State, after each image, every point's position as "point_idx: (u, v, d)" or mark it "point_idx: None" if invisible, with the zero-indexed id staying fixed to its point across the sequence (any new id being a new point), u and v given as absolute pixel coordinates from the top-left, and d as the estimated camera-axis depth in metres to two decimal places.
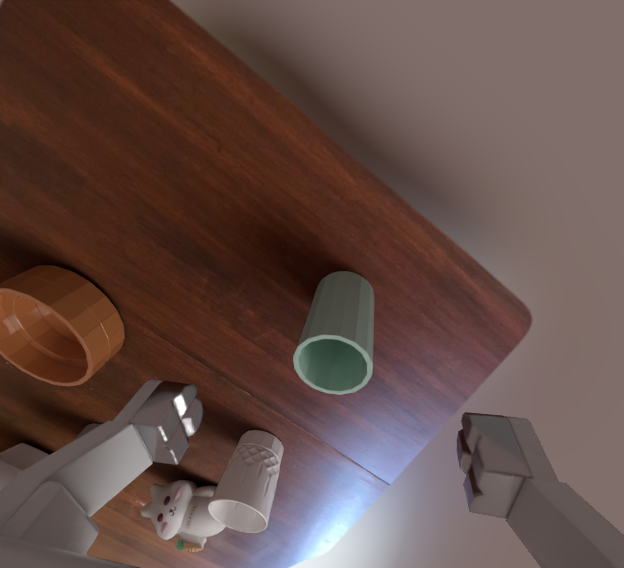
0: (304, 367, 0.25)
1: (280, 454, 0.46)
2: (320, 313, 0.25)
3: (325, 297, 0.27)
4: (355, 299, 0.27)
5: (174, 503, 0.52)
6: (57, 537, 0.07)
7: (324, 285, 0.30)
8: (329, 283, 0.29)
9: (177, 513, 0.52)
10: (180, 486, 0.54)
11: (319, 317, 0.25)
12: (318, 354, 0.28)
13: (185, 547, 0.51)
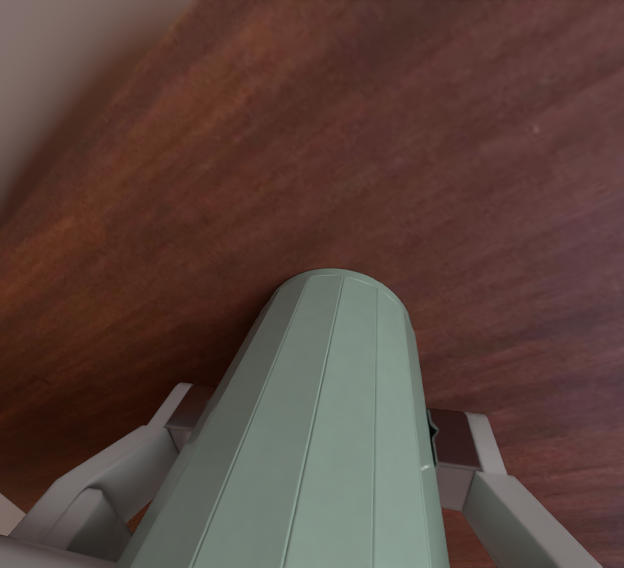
0: None
1: None
2: None
3: None
4: (232, 372, 0.08)
5: None
6: (98, 546, 0.07)
7: None
8: None
9: None
10: None
11: None
12: None
13: None
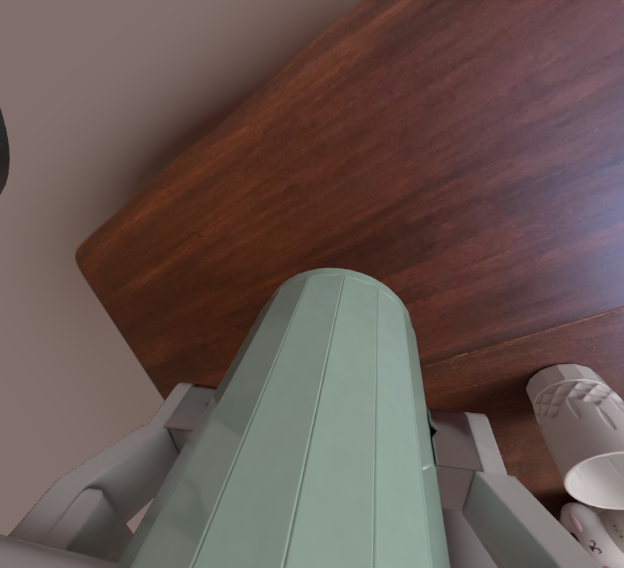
0: None
1: (589, 374, 0.30)
2: None
3: None
4: (232, 372, 0.08)
5: (585, 536, 0.37)
6: (98, 547, 0.07)
7: None
8: None
9: (603, 546, 0.36)
10: (569, 513, 0.39)
11: None
12: None
13: None
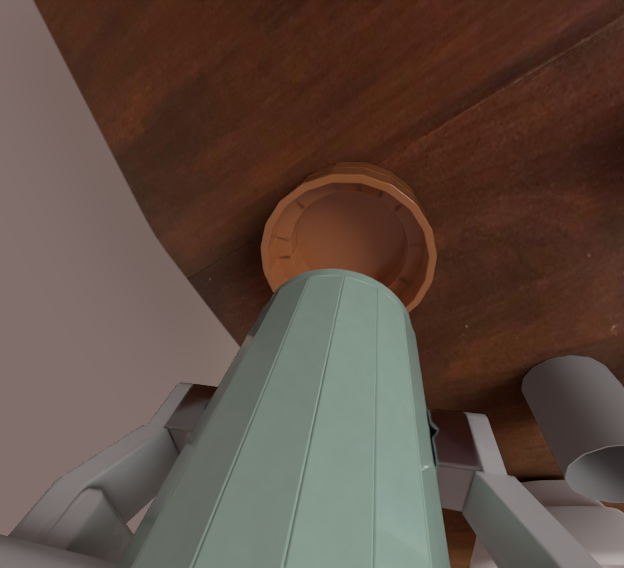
0: None
1: None
2: None
3: None
4: (232, 373, 0.08)
5: None
6: (98, 546, 0.07)
7: None
8: None
9: None
10: None
11: None
12: None
13: None
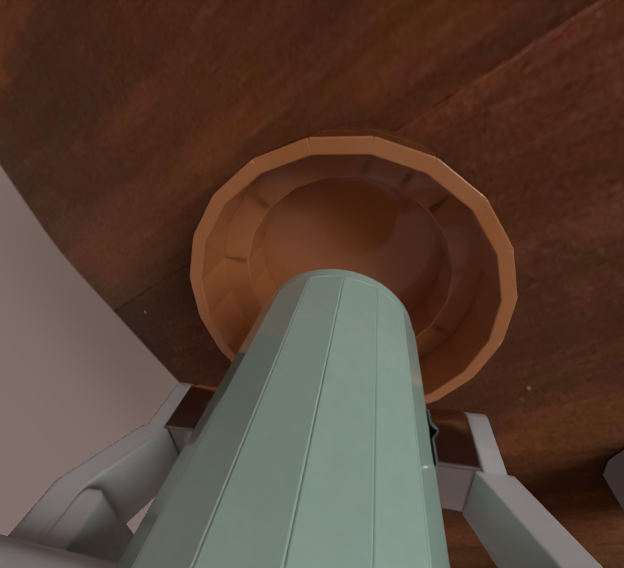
0: None
1: None
2: None
3: None
4: (232, 373, 0.08)
5: None
6: (98, 546, 0.07)
7: None
8: None
9: None
10: None
11: None
12: None
13: None
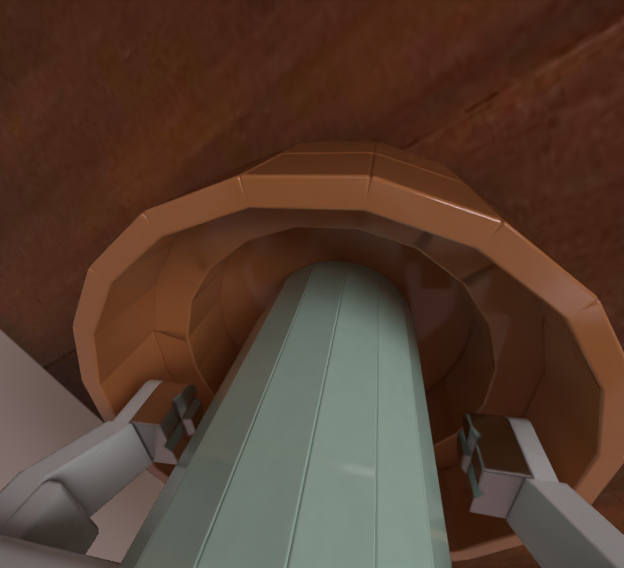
0: None
1: None
2: None
3: None
4: (244, 354, 0.09)
5: None
6: (57, 537, 0.07)
7: None
8: None
9: None
10: None
11: None
12: None
13: None
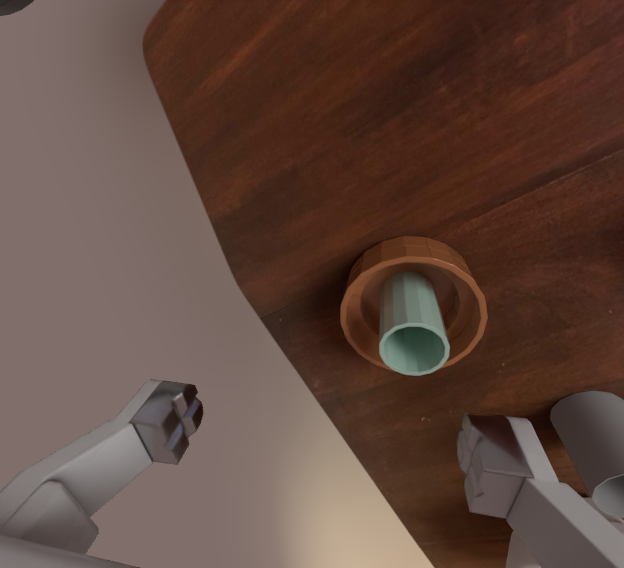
0: (412, 366, 0.30)
1: None
2: None
3: None
4: (390, 297, 0.32)
5: None
6: (57, 537, 0.07)
7: None
8: None
9: None
10: None
11: None
12: (422, 347, 0.32)
13: None
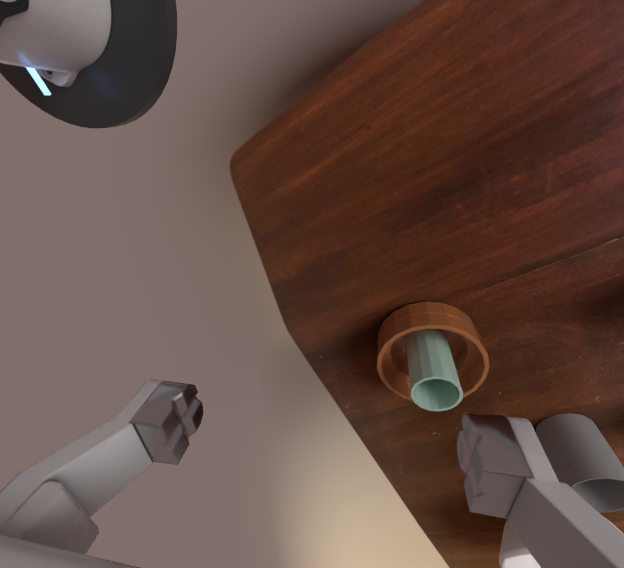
0: (434, 404, 0.40)
1: None
2: None
3: (407, 362, 0.44)
4: (416, 349, 0.42)
5: None
6: (57, 537, 0.07)
7: (406, 353, 0.46)
8: (406, 350, 0.46)
9: None
10: None
11: (409, 378, 0.41)
12: (440, 387, 0.42)
13: None
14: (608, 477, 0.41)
